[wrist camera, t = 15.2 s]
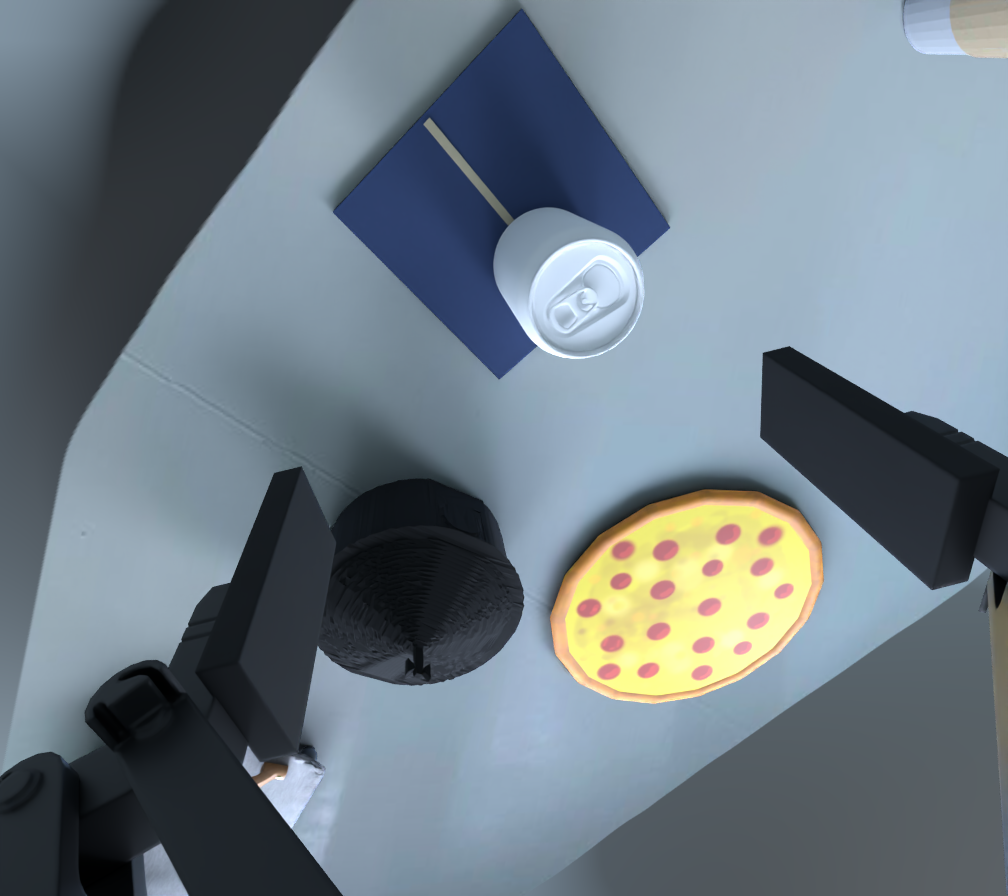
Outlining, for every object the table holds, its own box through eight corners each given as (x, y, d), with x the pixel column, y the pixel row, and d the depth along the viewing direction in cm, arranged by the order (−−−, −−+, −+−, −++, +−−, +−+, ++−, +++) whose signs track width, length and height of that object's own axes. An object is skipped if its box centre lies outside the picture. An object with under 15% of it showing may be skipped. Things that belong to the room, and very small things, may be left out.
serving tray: (241, 897, 83) (229, 951, 78) (59, 881, 75) (32, 939, 70) (341, 733, 69) (335, 784, 63) (129, 691, 61) (102, 746, 55)
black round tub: (543, 515, 57) (581, 628, 44) (455, 637, 63) (466, 768, 51) (370, 442, 51) (355, 550, 38) (292, 586, 57) (257, 721, 44)
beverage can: (612, 271, 46) (675, 311, 35) (531, 334, 47) (567, 390, 37) (557, 182, 42) (609, 197, 32) (470, 253, 43) (492, 290, 33)
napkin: (333, 211, 41) (332, 212, 41) (521, 9, 37) (522, 7, 37) (498, 377, 49) (499, 380, 49) (668, 227, 45) (671, 227, 45)
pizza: (495, 651, 65) (496, 659, 64) (681, 435, 55) (685, 441, 54) (691, 723, 77) (695, 731, 76) (875, 557, 66) (882, 564, 65)
